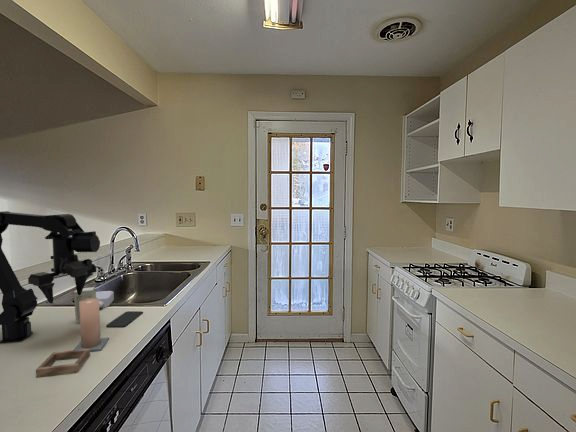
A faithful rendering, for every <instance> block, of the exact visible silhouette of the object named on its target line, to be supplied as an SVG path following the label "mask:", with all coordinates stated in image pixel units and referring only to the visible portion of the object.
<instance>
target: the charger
mask: <svg viewBox="0 0 576 432" xmlns="http://www.w3.org/2000/svg"><path fill="white" fill-rule="evenodd" d="M114 295H115V293H114V291H112V290H104V291H102V290H101V291H96V298H98V299H99V309H103V308H104V309H105V308H108V307H109V306H110V305H111V304H112V302H113V301H114V299H115V298H114V297H115V296H114Z"/></svg>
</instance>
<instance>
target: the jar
mask: <svg viewBox="0 0 576 432" xmlns="http://www.w3.org/2000/svg"><path fill="white" fill-rule="evenodd" d="M79 308H80V323H79V326H80V329H79V330H80V341H81V347H82V348H91V347H95V346H97V345H99V344H100V343H101V339H100V338H101V323H100V321H101V319H100V308H99V299H98V298H88V299H84V300H81V301H80V302H79Z"/></svg>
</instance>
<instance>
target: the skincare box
mask: <svg viewBox="0 0 576 432" xmlns="http://www.w3.org/2000/svg"><path fill="white" fill-rule="evenodd" d="M96 292H97V291H96V286H93V287H84V288H83V290H82V293H81V295H78V294H77V290H74V291H73V300H74V301H73V302H74V312H75V323H76V325H77V324H80V308H79V302H80V301H81V300H84V299H88V298H96Z"/></svg>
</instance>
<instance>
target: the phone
mask: <svg viewBox="0 0 576 432" xmlns="http://www.w3.org/2000/svg"><path fill="white" fill-rule="evenodd" d="M143 314H144V311H141V310H140V311H139V310H138V311H134V310H133V311H127V310H126V311H124V312H122V314H120V315H119V316H118V317H116V318H115V319H113V320H112V321H110V322H109V323H107V324H106V325H105V328H106V329H108V328H112V329H114V328H116V329H117V328H118V329H119V328H121V329H122V328H126V327H128V326H129V325H130V324H131V323H134V321H135V320H136V319H138V318H139V317H140V316H141V315H143Z"/></svg>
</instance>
